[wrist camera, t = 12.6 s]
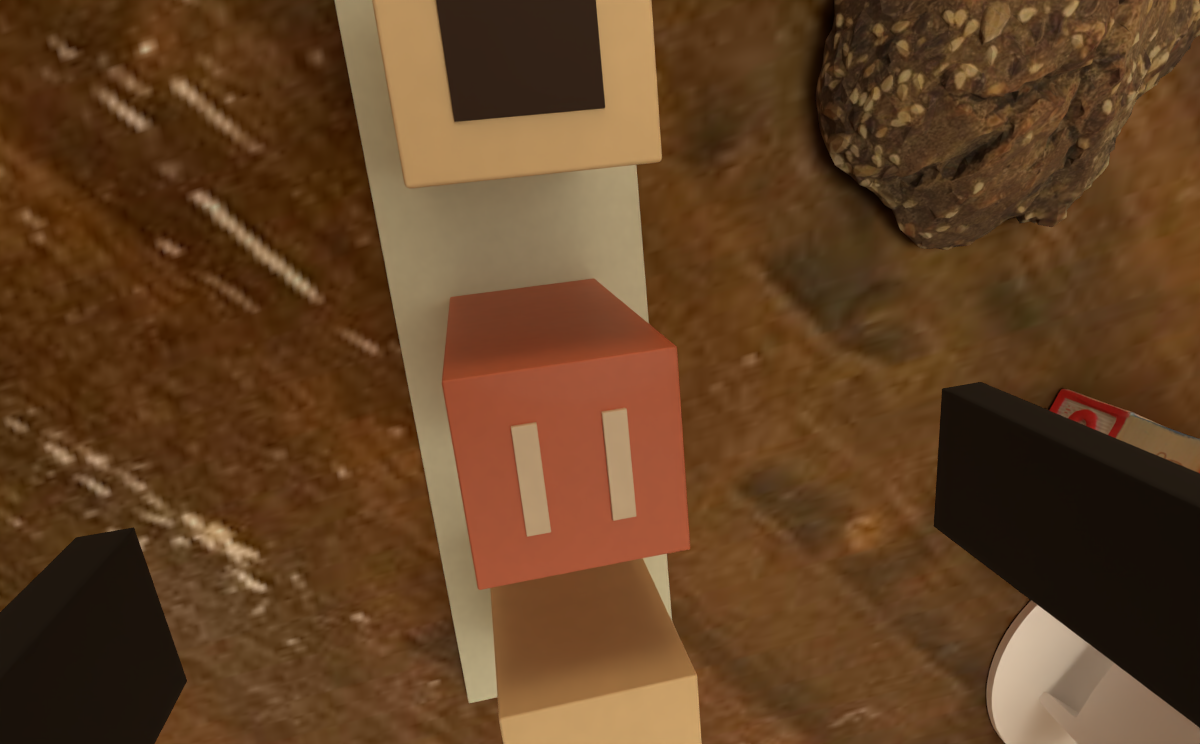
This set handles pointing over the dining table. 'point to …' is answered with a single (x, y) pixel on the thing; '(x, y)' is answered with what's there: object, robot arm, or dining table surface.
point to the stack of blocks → (1129, 428)
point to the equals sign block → (563, 431)
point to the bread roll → (988, 102)
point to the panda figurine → (1072, 692)
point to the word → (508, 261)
